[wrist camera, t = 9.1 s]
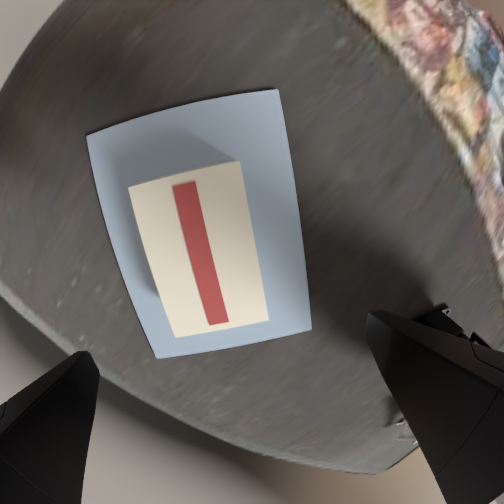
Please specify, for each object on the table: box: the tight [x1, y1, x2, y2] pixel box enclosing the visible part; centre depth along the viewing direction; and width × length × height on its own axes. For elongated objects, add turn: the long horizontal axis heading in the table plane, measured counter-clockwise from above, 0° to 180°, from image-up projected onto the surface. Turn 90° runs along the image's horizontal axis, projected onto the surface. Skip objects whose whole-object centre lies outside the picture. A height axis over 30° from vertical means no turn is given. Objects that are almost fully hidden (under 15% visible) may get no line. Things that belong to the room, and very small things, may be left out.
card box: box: [128, 160, 269, 338], centre depth 17 cm, size 6×10×4 cm, turn 10°
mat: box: [86, 89, 312, 359], centre depth 19 cm, size 18×13×1 cm
